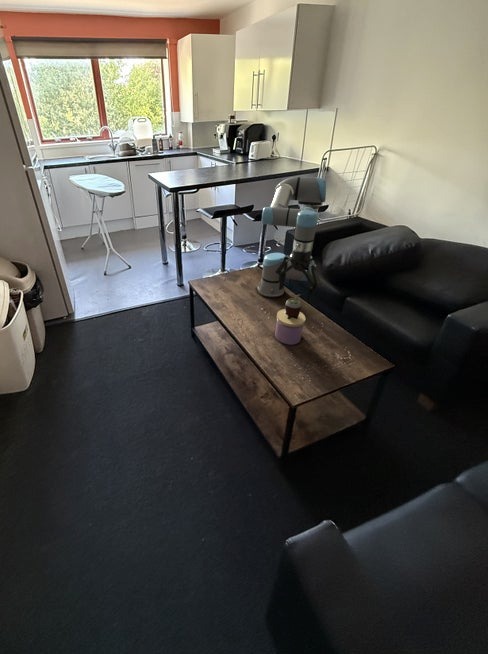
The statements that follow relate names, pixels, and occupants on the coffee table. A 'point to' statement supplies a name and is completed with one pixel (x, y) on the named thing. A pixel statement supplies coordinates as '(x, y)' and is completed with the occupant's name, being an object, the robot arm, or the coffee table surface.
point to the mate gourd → (293, 308)
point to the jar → (289, 328)
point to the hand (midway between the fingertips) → (294, 294)
